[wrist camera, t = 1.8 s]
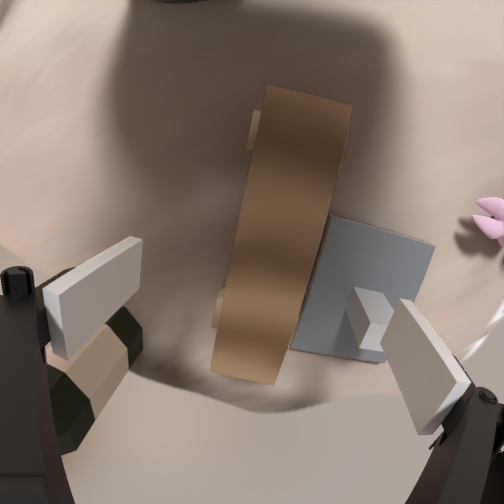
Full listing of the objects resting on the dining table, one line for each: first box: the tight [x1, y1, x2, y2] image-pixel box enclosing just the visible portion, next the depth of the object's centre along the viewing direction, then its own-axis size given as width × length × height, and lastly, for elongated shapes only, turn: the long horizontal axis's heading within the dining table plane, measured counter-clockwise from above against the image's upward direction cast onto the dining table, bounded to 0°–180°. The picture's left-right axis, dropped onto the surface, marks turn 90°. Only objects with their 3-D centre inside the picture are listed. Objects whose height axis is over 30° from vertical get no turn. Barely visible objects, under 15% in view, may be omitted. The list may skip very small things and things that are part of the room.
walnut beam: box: [210, 85, 353, 386], centre depth 20 cm, size 20×5×4 cm, turn 168°
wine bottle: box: [46, 306, 143, 455], centre depth 19 cm, size 8×8×30 cm
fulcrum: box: [291, 215, 435, 363], centre depth 25 cm, size 14×11×8 cm
